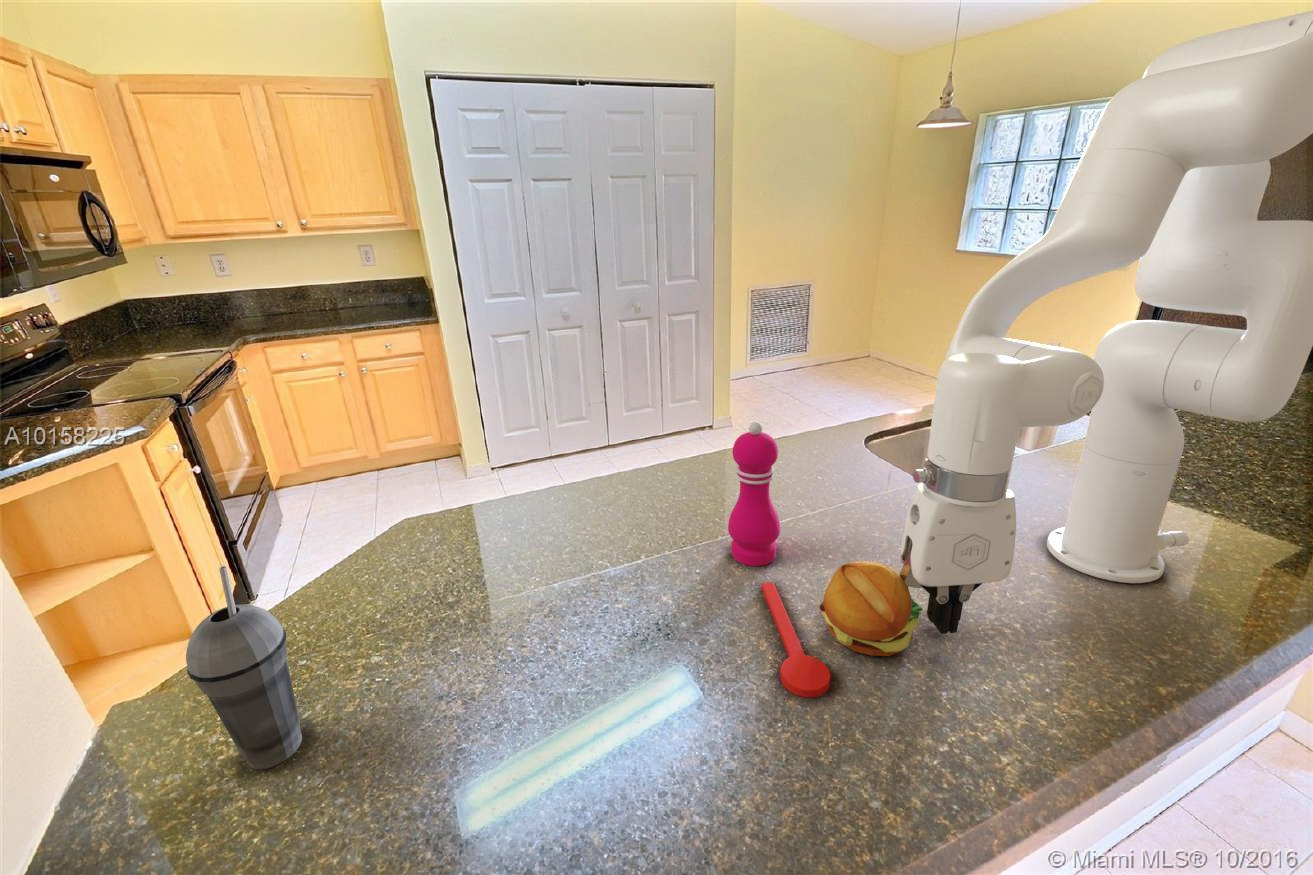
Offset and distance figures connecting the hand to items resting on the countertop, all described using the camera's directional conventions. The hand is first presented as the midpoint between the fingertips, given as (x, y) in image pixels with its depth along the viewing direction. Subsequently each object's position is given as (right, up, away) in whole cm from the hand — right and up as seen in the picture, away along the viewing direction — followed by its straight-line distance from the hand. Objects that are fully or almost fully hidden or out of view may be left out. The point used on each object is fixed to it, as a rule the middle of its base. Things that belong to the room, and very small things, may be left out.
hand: (941, 625), depth 65 cm
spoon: (-17, -2, +1) cm, 17 cm away
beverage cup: (-68, -9, -10) cm, 70 cm away
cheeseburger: (-8, -2, +1) cm, 8 cm away
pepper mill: (-18, +4, +17) cm, 26 cm away
